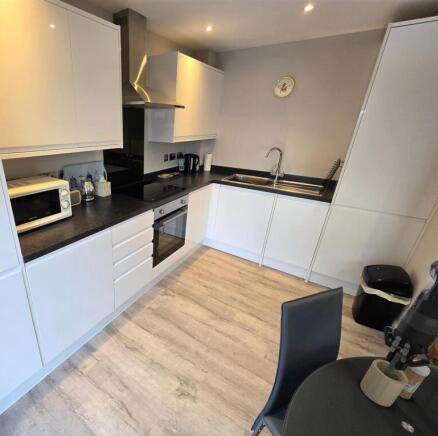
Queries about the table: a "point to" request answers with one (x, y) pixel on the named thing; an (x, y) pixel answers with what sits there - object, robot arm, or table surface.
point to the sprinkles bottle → (413, 379)
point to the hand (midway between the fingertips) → (394, 364)
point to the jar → (382, 383)
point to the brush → (392, 365)
